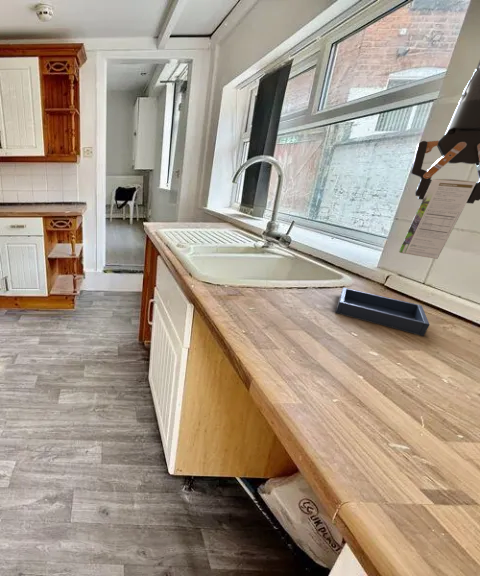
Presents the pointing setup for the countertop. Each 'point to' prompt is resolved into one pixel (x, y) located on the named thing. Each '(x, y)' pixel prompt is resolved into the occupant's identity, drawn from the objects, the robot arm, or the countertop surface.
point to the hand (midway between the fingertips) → (443, 200)
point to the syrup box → (436, 217)
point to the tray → (383, 311)
